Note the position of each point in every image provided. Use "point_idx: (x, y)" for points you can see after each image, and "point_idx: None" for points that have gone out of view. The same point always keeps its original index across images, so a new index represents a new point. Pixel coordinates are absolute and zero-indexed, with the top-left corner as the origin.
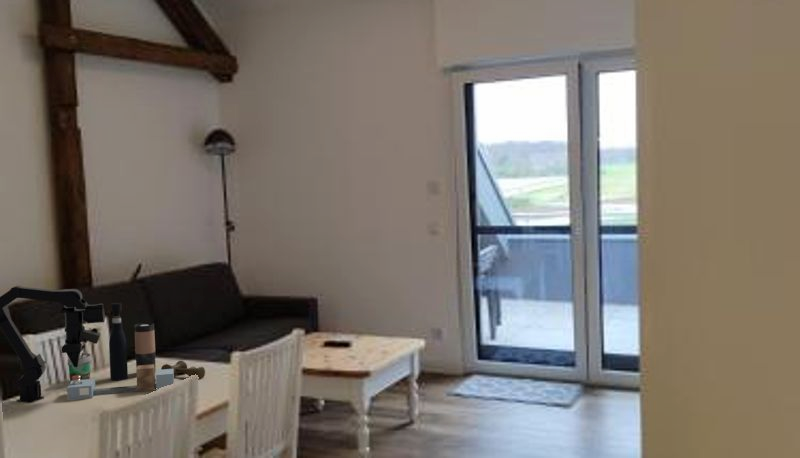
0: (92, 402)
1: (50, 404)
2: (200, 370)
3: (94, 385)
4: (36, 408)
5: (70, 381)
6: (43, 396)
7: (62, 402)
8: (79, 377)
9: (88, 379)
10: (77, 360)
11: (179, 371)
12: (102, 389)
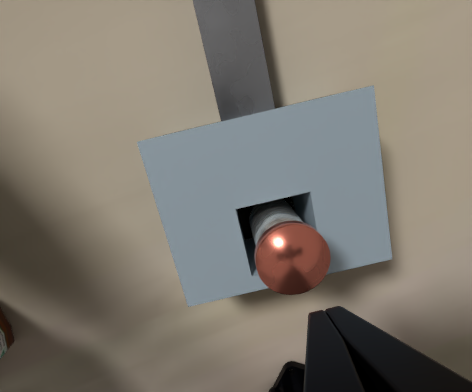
0: (439, 52)
1: (413, 283)
2: None
3: (188, 129)
4: (466, 319)
5: (2, 353)
6: (288, 369)
7: (390, 237)
8: (309, 227)
9: (163, 188)
10: (433, 371)
11: None
12: (239, 50)
